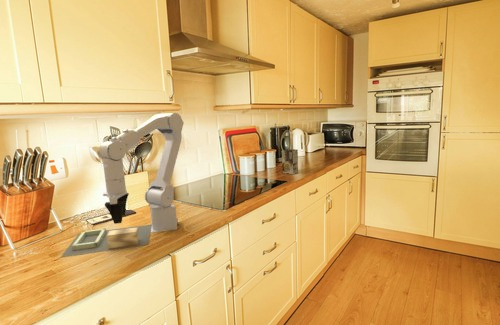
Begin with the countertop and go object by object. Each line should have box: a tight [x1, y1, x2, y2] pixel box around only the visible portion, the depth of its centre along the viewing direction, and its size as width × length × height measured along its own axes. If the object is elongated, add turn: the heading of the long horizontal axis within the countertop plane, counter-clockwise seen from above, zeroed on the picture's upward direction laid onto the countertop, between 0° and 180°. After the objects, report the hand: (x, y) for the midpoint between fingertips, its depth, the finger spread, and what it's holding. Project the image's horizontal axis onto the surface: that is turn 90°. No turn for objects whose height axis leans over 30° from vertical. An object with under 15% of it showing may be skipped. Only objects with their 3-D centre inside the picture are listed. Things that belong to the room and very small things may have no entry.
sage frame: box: [72, 228, 107, 250], centre depth 102 cm, size 8×13×2 cm, turn 14°
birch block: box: [107, 226, 139, 249], centre depth 98 cm, size 9×4×4 cm, turn 104°
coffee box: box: [281, 148, 299, 175], centre depth 200 cm, size 9×6×16 cm
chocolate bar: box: [85, 209, 137, 226], centre depth 128 cm, size 9×1×18 cm
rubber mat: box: [59, 224, 152, 258], centre depth 103 cm, size 26×19×1 cm
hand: (119, 219), depth 97 cm, fingers open, 7 cm apart
